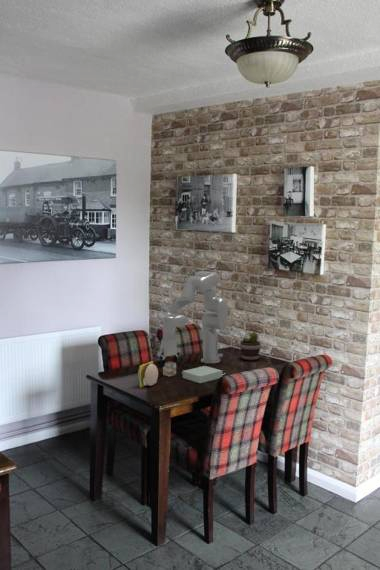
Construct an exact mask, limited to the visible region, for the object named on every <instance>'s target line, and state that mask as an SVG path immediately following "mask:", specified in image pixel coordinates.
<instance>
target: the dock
mask: <svg viewBox="0 0 380 570" xmlns="http://www.w3.org/2000/svg"><path fill="white" fill-rule="evenodd" d="M223 372H224V371H223V370H221V369H217V368H215V367H211V366H207V365H202V366H199V367H194V368H189V369H185V370H182V379H185V380H188V381H191V382H194V383H198V384H202V383H203V384H204V383H207V382H211V381H214V380H217V379H221V378H220V377H222V376H223ZM223 377H224V376H223ZM223 377H222V378H223Z"/></svg>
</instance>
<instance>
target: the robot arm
mask: <svg viewBox="0 0 380 570" xmlns="http://www.w3.org/2000/svg"><path fill="white" fill-rule="evenodd" d="M220 281H221V277H220V274H219V273H218V272H215V271H208V270H207V271H205V270H201V271H200V270H199V271H197V272H195V274H194V276H190V277H188V278H187V280H186V282H185V283H184V287H183V289H182V291H181V294H180V296H179V297H178V298H176V299H175V300H174V301H173V302H172V303H171V304H170V305H169V307H168V308H167V311H166V313H165V315H164V316H163V317H162V338H161V341H160V350H159V351H158V352H157V353H156V354H157V357H158V359H159V360H160V367H162V368H163V367H165V363H166V360H165V359H166V357H172V362H173V363H176V365H178V358H179V356H180V353H181V348H179V347H178V343H177V342H178V341H177V337H176V336H177V333H176V328H183V327H186V325H187V324H188V318H187V316H186V315H184V314H179V313H177V312H179V310H181V308H184V307H187V306H189V305H191V304H193V302H194V300H195V297H196V296H197V293H198V291H201V292H202V297H203V298H202V299H203V300H202V301H203V309H204V310H205V311H207V312H206V313H204V314H203V315H202V317H201V326H202V336H203V337H202V342H203V343H202V345H203V346H202V348H203V349H202V353H203V355H202V358H201V359H200V362H201V363H203V362H204V363H203V364H217V363H220V362H221V359H220V358H221V357H223V356H224V355H223V353H219V345H218V344H219V335H218V334H219V333H218V330H221V331H222V330H225V329H226V328H227V327H228V322H229V318H228V317H229V316H228V315H229V313H228V312H229V310H228V308H229V307H228V302H227V299H225V298H223V297H219V296H217V288H216V287H217V285H219V283H220Z"/></svg>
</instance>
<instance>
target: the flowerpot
mask: <svg viewBox="0 0 380 570" xmlns="http://www.w3.org/2000/svg"><path fill="white" fill-rule="evenodd" d="M238 346H239V348H240V353H241V354H240V357H241V358H242V360H243V361H248V362H253V361H258V359H259V358H260V350H261V348H262V343H261V342H260V341H259V335H258V332H257V331H255V330H254V331H252V333H250V335H249V337H248V336H246V337H243V339H242V340H241V341H240V342H239V343H238Z"/></svg>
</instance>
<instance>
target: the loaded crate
mask: <svg viewBox="0 0 380 570" xmlns="http://www.w3.org/2000/svg"><path fill="white" fill-rule="evenodd" d="M162 375H163V376H165V377H166V376H167V377H173V376H177V364H176V363H173V361H167V362H165V367H163V366H162Z"/></svg>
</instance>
